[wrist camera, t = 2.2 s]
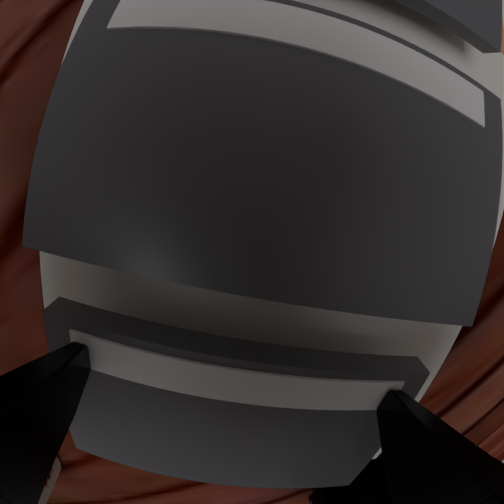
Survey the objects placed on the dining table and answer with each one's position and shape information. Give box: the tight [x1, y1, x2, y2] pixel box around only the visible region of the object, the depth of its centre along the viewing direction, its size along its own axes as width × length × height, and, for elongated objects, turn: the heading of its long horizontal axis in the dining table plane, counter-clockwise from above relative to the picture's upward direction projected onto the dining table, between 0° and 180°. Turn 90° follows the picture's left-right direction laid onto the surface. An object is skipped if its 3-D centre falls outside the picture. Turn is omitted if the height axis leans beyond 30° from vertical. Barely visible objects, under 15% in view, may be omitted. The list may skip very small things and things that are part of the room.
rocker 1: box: [22, 0, 503, 327], centre depth 6 cm, size 12×7×1 cm, turn 78°
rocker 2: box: [43, 297, 430, 489], centre depth 9 cm, size 12×7×1 cm, turn 78°
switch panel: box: [40, 0, 504, 459], centre depth 9 cm, size 18×29×3 cm, turn 168°
